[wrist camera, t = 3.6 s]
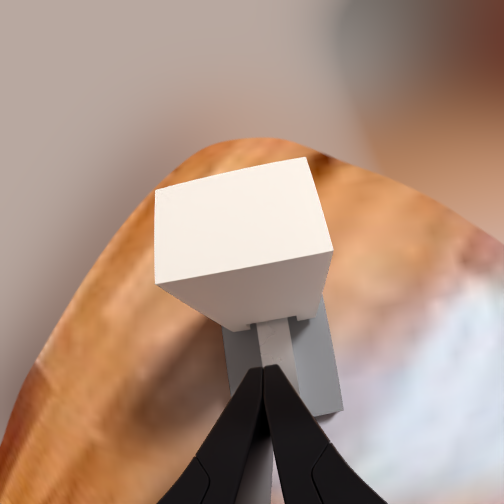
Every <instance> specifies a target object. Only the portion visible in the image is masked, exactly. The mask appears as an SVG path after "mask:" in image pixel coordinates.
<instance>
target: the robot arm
mask: <svg viewBox="0 0 504 504" xmlns="http://www.w3.org/2000/svg"><path fill="white" fill-rule="evenodd" d="M273 451H274V455H275V460H276V465H277V470H278V475H279V479H280V484H281V489H282V493H283V498H284V503H285V504H388V503H387V502H386V501H385V500H383V499H382V498H381V497H380V496H379V495H378V494H377V493H376V492H375V491H374V490H373V489H372V488H371V487H369V486H368V485H367V484H366V483H365V482H364V481H363V480H362V479H361V478H360V477H359V476H358V475H357V474H356V473H355V472H354V470H353V469H352V468H351V467H350V466H349V465H348V464H347V462H346V461H345V460H344V459H343V457H342V456H341V455H340V454H339V452H338V451H337V449H336V448H335V447H334V445H333V444H332V443H330V440H329V438H328V437H327V436H326V434H325V433H324V431H323V430H322V428H321V427H320V426H319V424H318V423H317V421H316V420H315V418H314V417H313V415H312V414H311V412H310V411H309V410H308V408H307V407H306V405H305V404H304V402H303V401H302V399H301V398H300V396H299V395H298V393H297V392H296V390H295V389H294V387H293V386H292V384H291V383H290V381H289V380H288V378H287V377H286V375H285V374H284V372H283V371H282V369H281V368H280V366H279V365H278V364H272V365H266V366H264V368H263V367H262V366H259V367H252V368H249V369H248V371H247V372H246V374H245V376H244V378H243V379H242V381H241V383H240V384H239V386H238V388H237V389H236V391H235V393H234V394H233V396H232V398H231V399H230V401H229V402H228V404H227V406H226V407H225V409H224V411H223V412H222V414H221V415H220V417H219V419H218V420H217V422H216V423H215V425H214V427H213V428H212V430H211V431H210V433H209V434H208V436H207V438H206V439H205V441H204V442H203V444H202V445H201V447H200V448H199V450H198V451H197V453H196V457H195V456H194V457H193V459H192V460H191V462H190V463H189V465H188V466H187V468H186V469H185V470H184V472H183V473H182V475H181V476H180V477H179V479H178V480H177V481H176V482H175V483H174V485H173V486H172V487H171V488H170V489H169V490H168V492H167V493H166V494H165V495H164V496H163V497H162V498H161V499H160V500H159V501H158V502H157V503H156V504H270V503H271V487H272V468H273Z"/></svg>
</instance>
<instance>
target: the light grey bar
mask: <svg viewBox="0 0 504 504" xmlns="http://www.w3.org/2000/svg"><path fill="white" fill-rule="evenodd" d="M256 325H257V332H258V339H259V345H260V352H261V358H262V365H263V368H264V366H266V365H272V364H278V365H279V366H280V368H281V369H282V371H283V372H284V374H285V375H286V377H287V378H288V380H289V381H290V383H291V384H292V386H293V387H294V389H295V390H296V392H297V393H298V395H299V396H300V390H299V383H298V377H297V371H296V365H295V359H294V353H293V347H292V341H291V335H290V330H289V324H288V318H287V317H286V318H280V319H275V320H269V321H264V322H258V323H256ZM300 398H301V396H300Z"/></svg>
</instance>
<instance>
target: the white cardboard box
mask: <svg viewBox="0 0 504 504" xmlns="http://www.w3.org/2000/svg"><path fill="white" fill-rule="evenodd" d="M154 253H155V284H156V285H157V286H159V287H160V288H162V289H163V290H165V291H166V292H168V293H170V294H171V295H173V296H174V297H176V298H177V299H179V300H181V301H182V302H184V303H185V304H187V305H189V306H190V307H192V308H193V309H195V310H197V311H198V312H200V313H202V314H203V315H205V316H207V317H208V318H210V319H212V320H213V321H215V322H217V323H218V324H220V325H222V326H223V327H225V328H227V329H229V330H230V331H232V332H237V331H244V330H250V329H251V328H250V324H252V323H258V322H264V321H269V320H275V319H280V318H286V317H291V316H296V317H297V321H300V320H306V319H311V318H315V317H316V313H317V310H318V306H319V303H320V299H321V296H322V292H323V289H324V285H325V281H326V278H327V274H328V270H329V266H330V262H331V258H332V254H333V247H332V243H331V239H330V236H329V232H328V228H327V225H326V221H325V218H324V214H323V211H322V208H321V204H320V201H319V197H318V194H317V191H316V188H315V184H314V181H313V178H312V175H311V172H310V169H309V166H308V163H307V160H306V157H302V158H296V159H291V160H285V161H280V162H274V163H269V164H264V165H259V166H254V167H249V168H244V169H240V170H235V171H231V172H226V173H222V174H217V175H213V176H209V177H205V178H201V179H197V180H193V181H189V182H185V183H181V184H177V185H173V186H169V187H166V188H162V189H158V190H155V231H154Z"/></svg>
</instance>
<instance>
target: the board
mask: <svg viewBox="0 0 504 504" xmlns="http://www.w3.org/2000/svg"><path fill="white" fill-rule="evenodd" d="M287 318H288V324H289V330H290V335H291V341H292V347H293V353H294V359H295V365H296V371H297V377H298V383H299V390H300V396H301V399H302V401H303V402H304V404H305V405H306V407H307V408H308V410H309V411H310V412H311V414H312V415H313V417H314V416H320V415H325V414H329V413H334V412H338V411H343V403H342V397H341V390H340V384H339V378H338V373H337V367H336V361H335V356H334V350H333V345H332V340H331V334H330V329H329V324H328V319H327V314H326V309H325V305H324V300H323V295H322V296H321V299H320V303H319V306H318V310H317V313H316V317H315V318H311V319H306V320H300V321H297V317H296V316H291V317H287ZM221 326H222V325H221ZM250 328H251V329H250V330H244V331H237V332H232V331H230V330H229V329H227V328H225V327H223V326H222V334H223V342H224V350H225V357H226V365H227V372H228V379H229V386H230V393H231V398H232V396H233V394H234V393H235V391H236V389H237V388H238V386H239V384H240V383H241V381H242V379H243V378H244V376H245V374H246V372H247V371H248V369H249V368H252V367H259V366H262V367H263V365H262V358H261V352H260V345H259V339H258V332H257V325H256V323H252V324H250Z"/></svg>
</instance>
